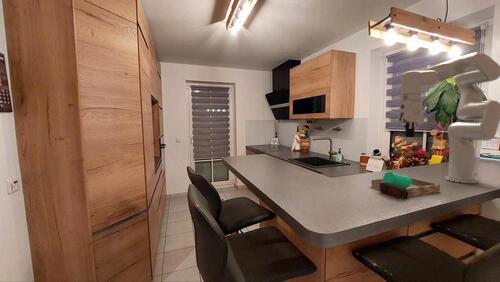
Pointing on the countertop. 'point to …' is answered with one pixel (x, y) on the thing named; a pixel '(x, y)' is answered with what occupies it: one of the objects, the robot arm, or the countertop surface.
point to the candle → (397, 179)
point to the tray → (414, 187)
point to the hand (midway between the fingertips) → (409, 137)
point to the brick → (393, 190)
